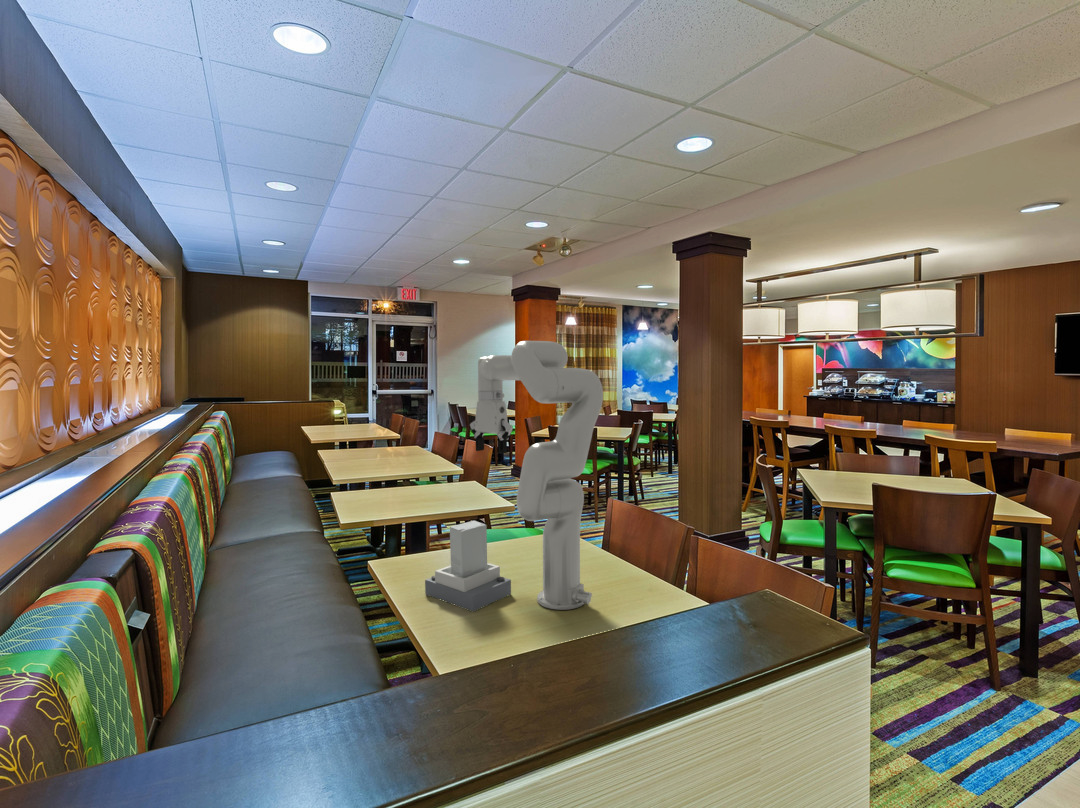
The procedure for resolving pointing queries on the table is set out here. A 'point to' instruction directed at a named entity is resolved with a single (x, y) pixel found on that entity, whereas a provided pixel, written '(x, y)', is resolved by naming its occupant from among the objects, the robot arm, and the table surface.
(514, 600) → the table surface
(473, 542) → the skincare box
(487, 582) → the grey box holder
